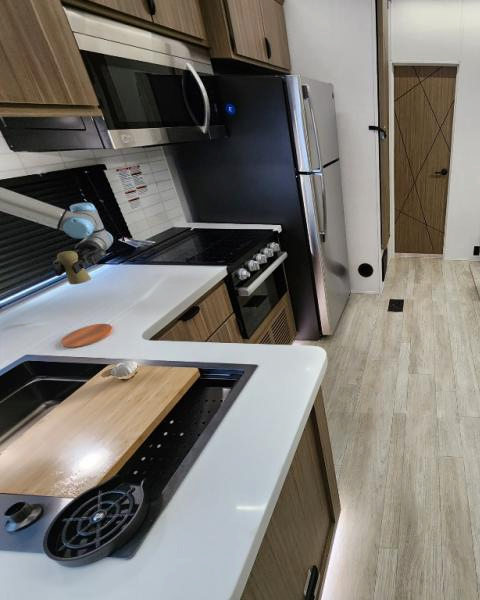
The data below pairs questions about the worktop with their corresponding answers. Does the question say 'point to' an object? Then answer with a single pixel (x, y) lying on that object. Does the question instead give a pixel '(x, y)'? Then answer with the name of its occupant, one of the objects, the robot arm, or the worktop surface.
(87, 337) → the coaster
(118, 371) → the garlic
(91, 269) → the worktop surface
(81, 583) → the worktop surface
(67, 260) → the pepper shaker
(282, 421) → the worktop surface
